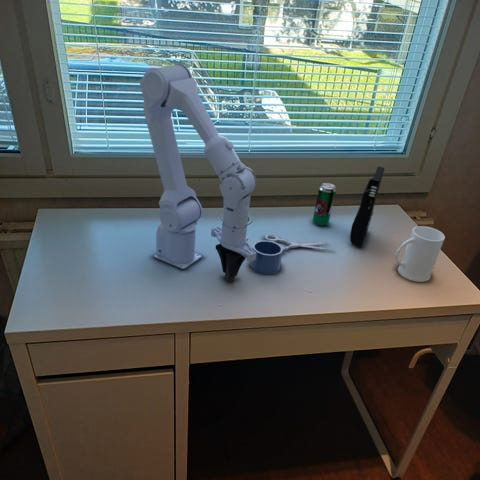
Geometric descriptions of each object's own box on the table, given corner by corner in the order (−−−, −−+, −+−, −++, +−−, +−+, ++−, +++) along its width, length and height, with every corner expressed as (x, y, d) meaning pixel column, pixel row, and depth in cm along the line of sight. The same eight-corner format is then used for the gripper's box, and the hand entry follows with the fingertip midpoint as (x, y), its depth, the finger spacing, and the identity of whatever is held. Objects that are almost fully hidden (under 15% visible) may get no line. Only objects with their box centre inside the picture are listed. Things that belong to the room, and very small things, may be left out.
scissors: (259, 234, 135) (327, 236, 137) (259, 236, 135) (326, 238, 138) (264, 253, 126) (336, 254, 129) (264, 255, 127) (336, 257, 129)
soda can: (329, 227, 144) (338, 190, 137) (313, 226, 144) (320, 188, 137) (327, 220, 148) (335, 183, 141) (311, 218, 148) (318, 181, 141)
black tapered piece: (362, 249, 135) (381, 181, 123) (346, 245, 136) (364, 178, 124) (368, 232, 144) (386, 167, 132) (353, 228, 145) (370, 164, 133)
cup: (245, 267, 121) (247, 248, 118) (259, 255, 127) (262, 237, 123) (271, 277, 118) (274, 258, 115) (284, 265, 124) (287, 246, 120)
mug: (395, 282, 122) (409, 241, 115) (381, 265, 129) (394, 225, 121) (436, 281, 124) (452, 241, 117) (420, 264, 131) (435, 225, 124)
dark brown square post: (224, 277, 116) (226, 254, 112) (230, 275, 117) (232, 253, 113) (228, 281, 115) (231, 258, 111) (234, 279, 116) (236, 256, 112)
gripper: (269, 232, 105) (261, 283, 113) (229, 207, 113) (225, 256, 122) (244, 239, 101) (238, 291, 109) (205, 213, 110) (202, 263, 118)
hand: (230, 273), depth 115 cm, fingers closed on dark brown square post, 2 cm apart
